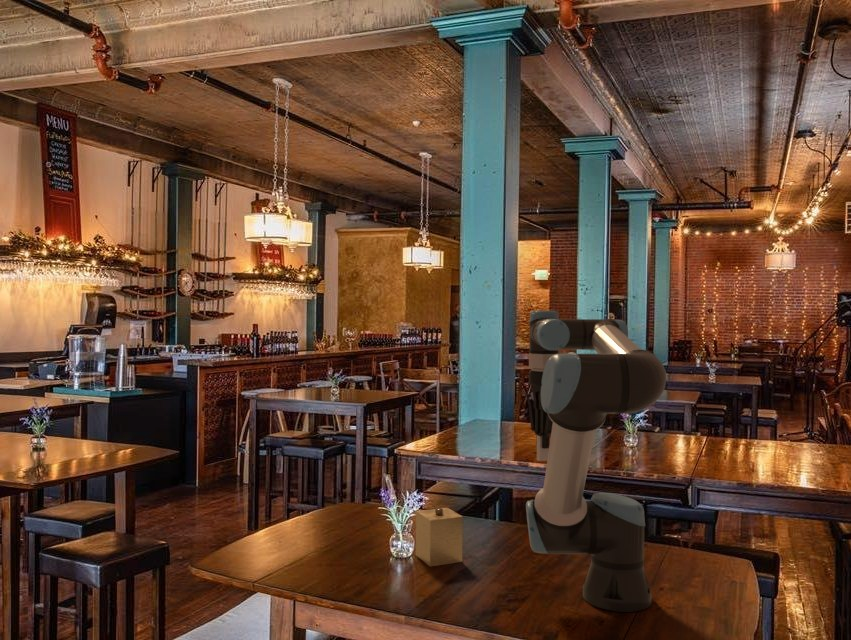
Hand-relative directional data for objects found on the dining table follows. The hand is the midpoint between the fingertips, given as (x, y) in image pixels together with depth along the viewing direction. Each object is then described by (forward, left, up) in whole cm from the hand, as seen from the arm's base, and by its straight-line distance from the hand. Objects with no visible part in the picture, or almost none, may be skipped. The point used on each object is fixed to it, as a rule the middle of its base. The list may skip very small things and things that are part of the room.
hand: (542, 460), depth 192 cm
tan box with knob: (+12, +24, -26) cm, 38 cm away
